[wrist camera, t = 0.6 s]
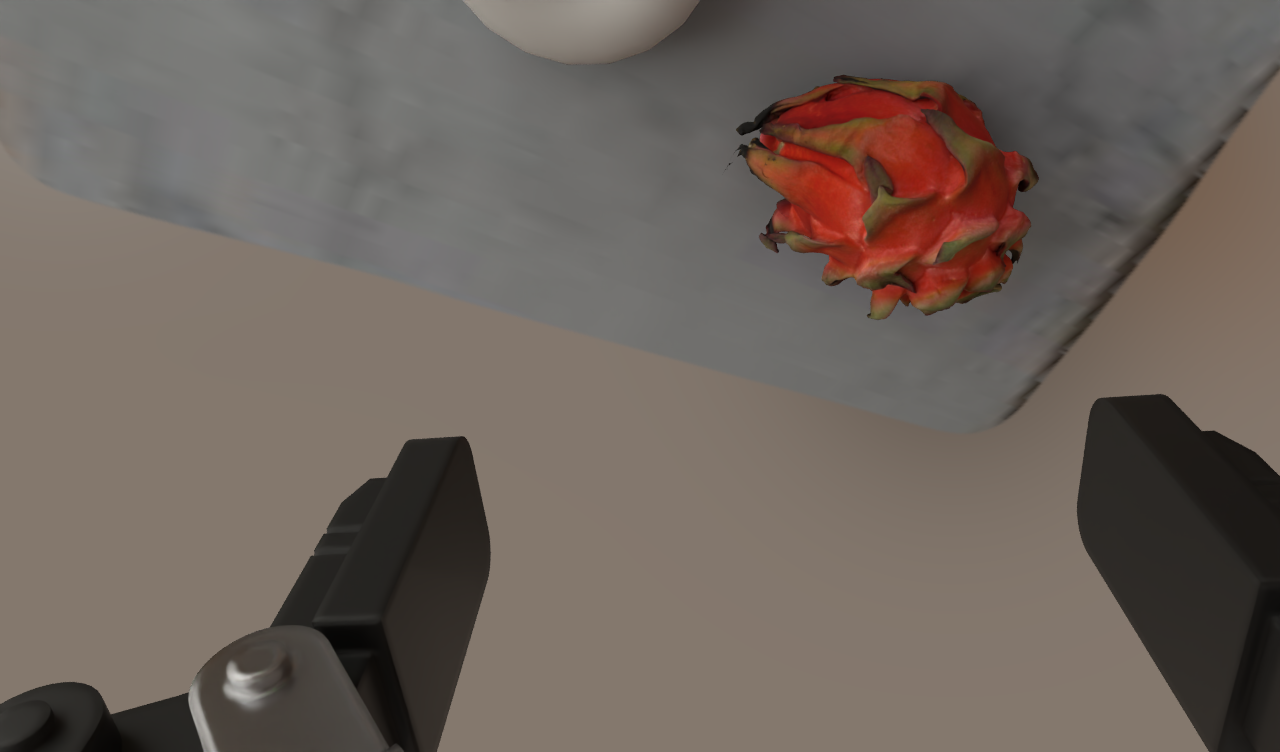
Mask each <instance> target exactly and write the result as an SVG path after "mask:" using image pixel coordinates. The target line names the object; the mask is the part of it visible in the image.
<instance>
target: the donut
mask: <svg viewBox="0 0 1280 752" xmlns="http://www.w3.org/2000/svg"><path fill="white" fill-rule="evenodd" d="M463 1H464V2H465V3H466V4H467V5H468V7H469V8H470V9H471V10H472V11H473V12H474V13H475V14H476V16H477V17H478V18H479V19H480V20H481V21H482V22H483V23H484V24H485V26H486V27H487V28H488V29H490V30H491V31H493V32H495V33H496V34H498V35H499V36H501V37H502V38H504V39H506V40H507V41H509V42H510V43H512V44H513V45H515V46H516V47H518V48H520V49H521V50H523V51H524V52H526V53H529V54H533V55H536V56H540V57H543V58H547V59H550V60H554V61H557V62H560V63H564V64H610V63H613V62H616V61H619V60H622V59H624V58H627V57H630V56H633V55H636V54H639V53H642V52H645V51H648V50H650V49H651V48H652V47H654V46H655V45H656V44H658V43H659V42H660V41H662V40H663V39H664V38H666V37H667V36H668V35H670V34H671V33H672V32H674V31H675V30H676V29H678V28H679V27H680V26H682V25H683V24H684V23H685V21H686V20H687V18H688V17H689V16H690V14H691V13H692V11H693V10H694V8H695V7H696V5H697V4H698V3H699V1H700V0H463Z"/></svg>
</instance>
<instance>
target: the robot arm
mask: <svg viewBox="0 0 1280 752" xmlns="http://www.w3.org/2000/svg"><path fill="white" fill-rule="evenodd" d="M1077 516H1078V525H1079V531H1080V534H1081V538H1082V541H1083V544H1084V546H1085V549H1086V551H1087V553H1088V554H1089V556H1090V557H1091V559H1092V561H1093V563H1094V564H1095V566H1096V567H1097V569H1098V571H1099V572H1100V574H1101V576H1102V577H1103V579H1104V580H1105V582H1106V584H1107V585H1108V587H1109V589H1110V590H1111V592H1112V594H1113V595H1114V597H1115V598H1116V600H1117V602H1118V603H1119V605H1120V607H1121V608H1122V610H1123V611H1124V613H1125V615H1126V616H1127V618H1128V620H1129V621H1130V623H1131V625H1132V626H1133V628H1134V630H1135V631H1136V633H1137V634H1138V636H1139V638H1140V639H1141V641H1142V643H1143V644H1144V646H1145V647H1146V649H1147V651H1148V652H1149V654H1150V656H1151V657H1152V659H1153V661H1154V662H1155V664H1156V665H1157V667H1158V669H1159V670H1160V672H1161V674H1162V675H1163V677H1164V678H1165V680H1166V682H1167V683H1168V685H1169V687H1170V688H1171V690H1172V692H1173V693H1174V695H1175V696H1176V698H1177V700H1178V701H1179V703H1180V705H1181V706H1182V708H1183V710H1184V711H1185V713H1186V714H1187V716H1188V718H1189V719H1190V721H1191V723H1192V724H1193V726H1194V728H1195V729H1196V731H1197V732H1198V734H1199V736H1200V737H1201V739H1202V741H1203V742H1204V744H1205V746H1206V747H1207V749H1208V751H1209V752H1280V476H1279V475H1278V474H1277V473H1276V472H1275V471H1274V470H1273V469H1272V468H1271V467H1270V466H1269V465H1268V464H1267V463H1266V462H1265V461H1264V460H1263V459H1262V458H1261V457H1260V456H1259V455H1257V454H1256V453H1255V452H1254V451H1252V450H1250V449H1248V448H1246V447H1244V446H1242V445H1240V444H1239V443H1237V442H1235V441H1233V440H1231V439H1229V438H1227V437H1225V436H1223V435H1221V434H1220V433H1218V432H1216V431H1201V430H1200V429H1199V428H1198V427H1197V426H1196V425H1195V424H1194V423H1193V422H1192V421H1191V420H1190V418H1188V417H1187V415H1186V414H1185V413H1184V412H1182V410H1181V409H1180V408H1179V407H1178V406H1177V405H1176V404H1175V403H1174V402H1173V401H1172V400H1171V399H1170V398H1169V397H1168V396H1166V395H1162V394H1156V395H1141V396H1124V397H1109V398H1099V399H1097V400H1096V401H1095V403H1094V404H1093V406H1092V408H1091V411H1090V416H1089V421H1088V429H1087V436H1086V443H1085V450H1084V457H1083V465H1082V472H1081V479H1080V486H1079V493H1078V501H1077ZM314 551H315V555H314V556H311V557H310V559H309V560H308V562H307V564H306V566H305V568H304V569H303V571H302V572H301V574H300V576H299V578H298V579H297V581H296V583H295V585H294V586H293V588H292V590H291V592H290V593H289V595H288V597H287V598H286V600H285V602H284V604H283V605H282V608H281V609H280V611H279V612H278V614H277V616H276V618H275V619H274V621H273V623H272V625H271V626H270V628H266V629H263V630H259V631H256V632H254V633H251V634H248V635H246V636H244V637H242V638H240V639H238V640H236V641H234V642H232V643H231V644H229V645H228V646H226V647H224V648H223V649H222V650H220V651H219V652H218V653H217V654H215V655H214V656H213V657H212V658H211V659H210V660H209V661H208V662H207V663H206V664H205V665H204V666H203V667H202V668H201V669H200V671H199V672H198V673H197V675H196V677H195V678H194V680H193V682H192V685H191V687H190V690H189V692H188V693H185V694H182V695H179V696H176V697H172V698H169V699H165V700H162V701H158V702H154V703H151V704H147V705H144V706H140V707H137V708H133V709H129V710H125V711H122V712H118V713H115V714H110V712H109V710H108V708H107V706H106V704H105V702H104V700H103V698H102V696H101V695H100V693H99V692H98V691H97V690H96V689H94V688H93V687H92V686H89V685H86V684H83V683H76V682H63V683H56V684H50V685H46V686H42V687H39V688H35V689H33V690H30V691H27V692H24V693H22V694H20V695H18V696H16V697H13V698H11V699H9V700H7V701H5V702H4V703H2V704H0V752H437V749H438V746H439V742H440V739H441V736H442V732H443V729H444V725H445V722H446V719H447V715H448V712H449V709H450V705H451V702H452V699H453V695H454V692H455V688H456V685H457V682H458V678H459V675H460V672H461V668H462V664H463V661H464V658H465V655H466V651H467V648H468V644H469V641H470V638H471V634H472V631H473V628H474V624H475V621H476V617H477V614H478V611H479V607H480V604H481V601H482V597H483V594H484V590H485V587H486V584H487V580H488V576H489V570H490V553H491V552H490V537H489V531H488V526H487V521H486V516H485V512H484V507H483V502H482V497H481V493H480V488H479V483H478V479H477V474H476V470H475V465H474V460H473V455H472V451H471V448H470V445H469V443H468V441H467V439H466V438H465V437H463V436H460V437H444V438H429V439H412V440H408V441H407V442H406V443H405V444H404V446H403V448H402V450H401V452H400V454H399V456H398V458H397V460H396V461H395V463H394V465H393V467H392V469H391V471H390V473H389V475H388V477H387V478H375V479H369V480H368V481H367V482H366V483H365V484H363V485H362V486H361V487H360V488H359V489H358V490H356V491H355V492H354V493H353V494H351V496H349V497H348V498H347V499H345V500H344V501H343V502H342V503H341V505H340V507H339V508H338V510H337V512H336V513H335V515H334V517H333V519H332V520H331V522H330V524H329V526H328V528H327V534H323V536H322V538H321V540H320V541H319V543H318V545H317V546H316V548H315V550H314Z"/></svg>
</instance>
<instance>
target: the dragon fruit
mask: <svg viewBox="0 0 1280 752" xmlns="http://www.w3.org/2000/svg"><path fill="white" fill-rule="evenodd" d="M833 81H834V82H838V83H834V84H829V85H825V86H821V87H819V86H817V87H815V88H814V89H813V90H812V91H810V92H808V93H806V94H803V95H800V96H797V97H792V98H787V99H784V100H781V101H778V102H776V103H774V104H772V105H770V106H769V107H768V108H767V109H765V110H763V111H762V112H761V113H760V114H759V115H758V116H756V118H755V120H754V122H746V123H743V124H741V125H740V126H739V127H738V128H737V129H736V131H737V132H738V133H739V134H740V135H744V134H747V133H751V132H753V131H755V130H758V129H760V128H761V130H760V133H761V135H760V141H759V139H758V138H753V139H752V141H751V142H750V143H749V146H746V145H743V144H741V145H740V147H739V148H738V149H737V150H739V149H741V150H740V151H739V154H738V156H739V155H743V157H744V158H745V159H746V162H747V164H748V166H749V168H750V171H751V173H752V174H754V175H756V176H757V177H758V179H760V180H761V181H762V182H764V183H765V184H766V185H767V186H769V187H771V188H772V189H774V190H776V191H777V192H779V193H780V194H781V195H783V196H784V197H785V199H783V200H780V201H779V202H777V209H776V210H775V212H774V214H773V216H772V218H771V219H770V221H769V223H768V225H766V230H767V234H766V235H764V234H763V233H761V234H760V235H759V238H760V240H761V242H762V243H763V244H764V245H765V246H766V248H768V249H771V250H773V251H774V252H776V253H778V252H779V250H778V249H777V248H778V247H777V244H776V242H777V243H787V244H788V245H789V246H790V248H791V249H792V250H793V251H796V252H800V253H808V252H815V253H823V254H827V255H829V262H828V264H827V265H826V266H825V268H824V271H823V275H822V281H824V282H825V284H826V285H829V286H835V285H838V284H839V283H841V282H842V281H843V280H845V279H847V278H849V277H853V278H855V280H856V282H857V285H859V286H862V287H863V288H867V289H870V290H871V291H873V294H872V298H871V302H870V305H871V313H870V314H868V315H867V317H868V318H871V319H875V320H880V319H886V318H887V317H888V316H889V315H890V314H891V312H892V311H893V310H894V308H895V306H896V305H897V303H898V301H899V299H900V300H901V301H902V303H903V304H904V305H905V306H909V303H910V302H911V304H912V305H913V306H914V307H915V308H917V309H919V310H921V311H922V312H923V313H924V314H925V315H926V316H927V315H931V314H933V313H935V312H937V311H942V310H944V309H949V308H950V307H951V306H953V305H954V304H955V303H961V304H963V303H967V302H969V301H970V300H972V299H973V298H975V297H978V296H981V295H984V294H988V293H992V292H999V291H1001V290H1002V286H1001V284H1000V283H1003V284H1005V283H1006V282H1007V280H1008V278H1009V276H1010V275H1011V272H1012V269H1013V263H1014V262H1015V261H1017V263H1018V260H1019V258H1020V255H1021V252H1022V249H1023V243H1022V238H1023V237H1025V235H1026V234H1027V232H1028V230H1029V228H1030V227H1031V222H1030V220H1029V219H1028V217H1027V216H1026V215H1025V214H1024V213H1023V212H1021V211H1018V210H1016V209H1014V208H1013V205H1014V200H1015V195H1016V191H1017V188H1018V190H1019V191H1020V192H1026V191H1028V190H1030V189H1031V188H1032V187H1033V186H1034V185H1035V184H1036V183H1037V182H1038V180H1039V177H1038V175H1037V172H1036V171H1035V170H1034V168H1033V165H1032V163H1031V161H1030V160H1029V159H1028V158H1026V157H1024V156H1022V155H1019V154H1018V152H1016V151H1013V152H1003V151H1002V150H999V149H998V148H996V146H995V144H994V142H993V140H992V138H991V136H990V134H989V133H988V131H987V129H986V128H985V124H984V120H983V117H982V112H981V110H980V109H978V108H977V106H976V105H975V103H973V102H972V101H970V100H968V99H967V98H966V97H964V96H962V95H960V94H957V93H956V92H955V91H954V89H953V87H952V86H950V85H949V84H947V83H943V82H938V81H920V82H915V81H896V80H889V79H882V78H881V79H867V78H859V77H852V76H846V75H841V76H836V77H834V79H833ZM737 150H736V151H737ZM734 153H735V152H734ZM738 156H737V157H738ZM730 164H731V163H729V165H730ZM729 165H728V166H729ZM728 166H727V167H728ZM725 170H726V169H725ZM722 175H723V174H722ZM1018 186H1019V187H1018ZM781 231H786V232H788V233H787V234H784V233H779V232H781ZM803 235H805V236H807V237H809V238H810V239H809V238H807V237H805V236H803ZM1007 250H1009V251H1011V253H1012V259H1010V258H1009V257H1008V256H1007V255H1006V254H1005V253H1006V251H1007Z"/></svg>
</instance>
